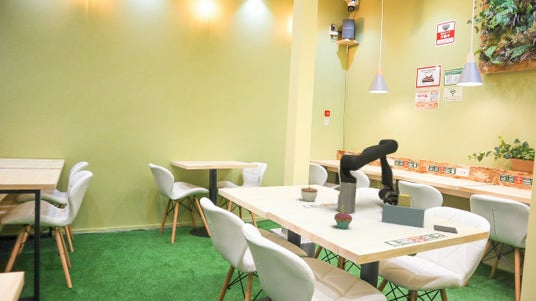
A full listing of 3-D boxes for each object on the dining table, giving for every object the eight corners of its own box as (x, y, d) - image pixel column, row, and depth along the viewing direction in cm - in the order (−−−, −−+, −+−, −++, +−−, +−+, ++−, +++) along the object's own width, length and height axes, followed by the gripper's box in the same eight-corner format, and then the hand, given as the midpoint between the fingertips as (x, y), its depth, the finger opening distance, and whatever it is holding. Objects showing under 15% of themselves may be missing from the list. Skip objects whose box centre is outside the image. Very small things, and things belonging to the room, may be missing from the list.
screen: (381, 221, 184) (382, 204, 183) (382, 221, 186) (383, 204, 185) (423, 227, 176) (424, 210, 175) (423, 226, 178) (424, 209, 177)
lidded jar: (298, 201, 229) (299, 186, 229) (302, 198, 239) (303, 185, 239) (314, 203, 225) (315, 188, 225) (318, 200, 235) (319, 186, 235)
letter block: (396, 219, 191) (398, 194, 190) (406, 220, 190) (408, 194, 190) (399, 222, 186) (401, 195, 185) (408, 222, 185) (410, 196, 184)
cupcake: (348, 230, 162) (349, 205, 162) (330, 227, 167) (332, 202, 166) (353, 227, 169) (355, 202, 169) (337, 224, 174) (338, 200, 173)
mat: (434, 230, 172) (434, 229, 172) (433, 225, 181) (433, 224, 181) (457, 233, 168) (457, 232, 168) (455, 228, 177) (455, 227, 177)
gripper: (381, 191, 214) (386, 196, 198) (405, 193, 213) (412, 198, 197) (380, 203, 215) (385, 209, 199) (404, 205, 213) (411, 211, 197)
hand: (399, 203), depth 198 cm, fingers open, 8 cm apart
